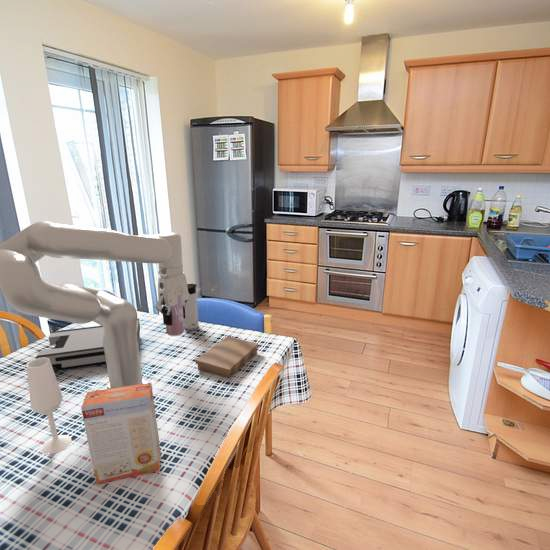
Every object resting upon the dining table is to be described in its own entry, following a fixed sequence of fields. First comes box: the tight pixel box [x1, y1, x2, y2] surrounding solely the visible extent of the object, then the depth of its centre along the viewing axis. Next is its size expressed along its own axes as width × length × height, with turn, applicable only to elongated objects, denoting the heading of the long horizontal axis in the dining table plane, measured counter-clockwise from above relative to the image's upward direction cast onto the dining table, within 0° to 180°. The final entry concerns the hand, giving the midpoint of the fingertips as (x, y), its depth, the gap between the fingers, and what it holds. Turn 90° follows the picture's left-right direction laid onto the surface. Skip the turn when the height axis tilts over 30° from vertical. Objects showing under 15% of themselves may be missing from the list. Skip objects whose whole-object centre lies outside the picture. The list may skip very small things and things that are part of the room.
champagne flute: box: [25, 357, 72, 455], centre depth 90 cm, size 7×7×24 cm
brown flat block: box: [194, 335, 260, 380], centre depth 131 cm, size 20×14×4 cm
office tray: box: [35, 318, 141, 372], centre depth 137 cm, size 21×32×8 cm, turn 107°
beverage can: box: [165, 293, 185, 337], centre depth 123 cm, size 6×6×15 cm
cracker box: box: [80, 382, 162, 484], centre depth 83 cm, size 14×6×21 cm, turn 104°
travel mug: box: [184, 283, 200, 332], centre depth 156 cm, size 6×7×20 cm
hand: (174, 320), depth 124 cm, fingers closed on beverage can, 6 cm apart
